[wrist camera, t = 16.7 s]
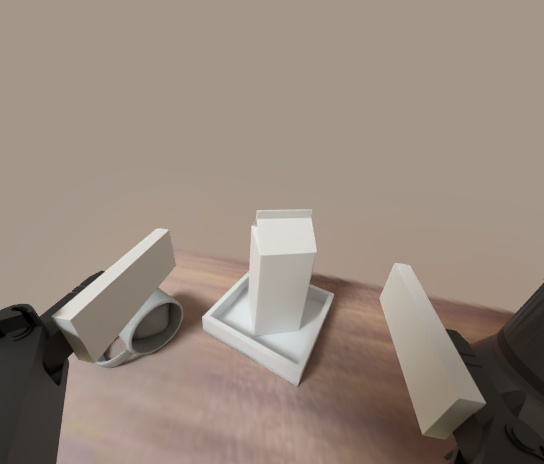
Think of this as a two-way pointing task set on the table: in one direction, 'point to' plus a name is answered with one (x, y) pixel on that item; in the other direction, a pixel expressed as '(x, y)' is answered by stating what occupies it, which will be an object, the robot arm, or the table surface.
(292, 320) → the milk carton
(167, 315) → the ceramic mug
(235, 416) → the table surface
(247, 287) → the tray
